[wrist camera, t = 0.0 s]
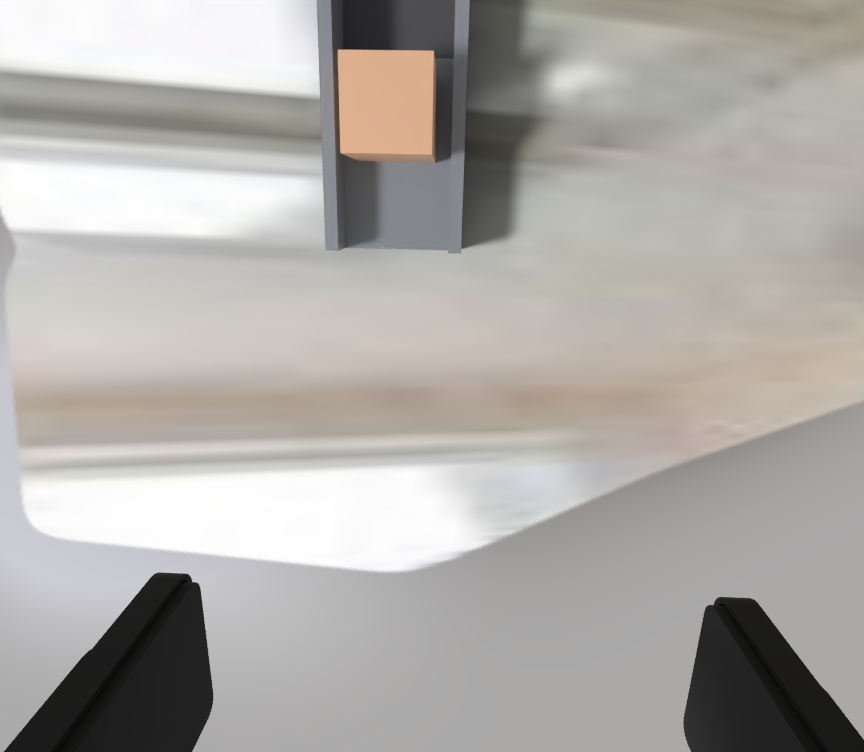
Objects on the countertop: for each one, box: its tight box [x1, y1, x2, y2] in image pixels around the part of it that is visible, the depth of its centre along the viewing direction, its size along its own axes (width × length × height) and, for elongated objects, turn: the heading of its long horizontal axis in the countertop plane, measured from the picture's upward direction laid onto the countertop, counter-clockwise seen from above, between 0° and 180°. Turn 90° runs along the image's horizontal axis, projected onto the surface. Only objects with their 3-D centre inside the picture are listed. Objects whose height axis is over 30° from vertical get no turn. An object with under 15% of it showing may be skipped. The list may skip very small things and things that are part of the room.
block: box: [338, 50, 438, 163], centre depth 32 cm, size 5×5×6 cm
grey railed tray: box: [317, 0, 470, 253], centre depth 34 cm, size 20×9×4 cm, turn 179°
